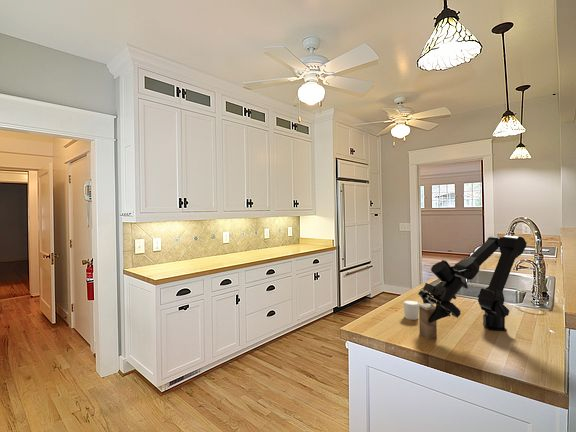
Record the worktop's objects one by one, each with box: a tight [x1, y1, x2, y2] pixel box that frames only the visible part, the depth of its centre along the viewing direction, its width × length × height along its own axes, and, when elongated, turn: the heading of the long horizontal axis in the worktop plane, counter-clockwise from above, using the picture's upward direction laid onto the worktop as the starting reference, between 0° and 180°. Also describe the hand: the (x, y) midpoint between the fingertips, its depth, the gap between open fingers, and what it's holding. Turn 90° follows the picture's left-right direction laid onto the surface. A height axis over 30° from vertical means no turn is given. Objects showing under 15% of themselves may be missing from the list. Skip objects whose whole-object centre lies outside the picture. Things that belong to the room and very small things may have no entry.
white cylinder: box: [402, 299, 420, 321], centre depth 139 cm, size 7×7×7 cm
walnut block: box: [418, 303, 438, 340], centre depth 120 cm, size 4×5×12 cm
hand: (424, 319), depth 119 cm, fingers closed on walnut block, 5 cm apart
